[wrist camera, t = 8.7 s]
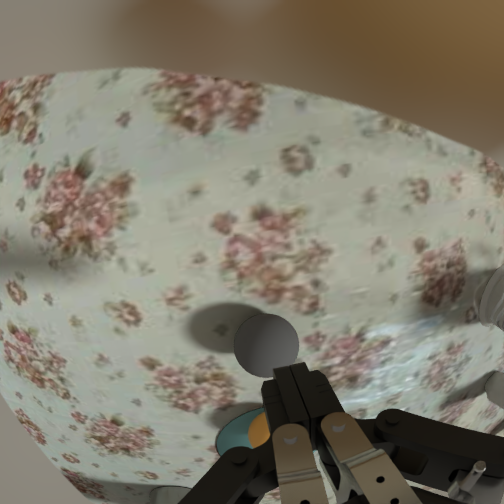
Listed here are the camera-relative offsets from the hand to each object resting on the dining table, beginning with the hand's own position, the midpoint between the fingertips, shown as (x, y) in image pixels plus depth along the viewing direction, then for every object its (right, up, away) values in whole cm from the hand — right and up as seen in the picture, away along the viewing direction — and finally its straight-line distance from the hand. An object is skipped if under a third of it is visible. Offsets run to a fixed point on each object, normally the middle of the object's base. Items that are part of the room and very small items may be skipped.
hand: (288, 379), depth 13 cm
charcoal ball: (0, -2, +12) cm, 12 cm away
